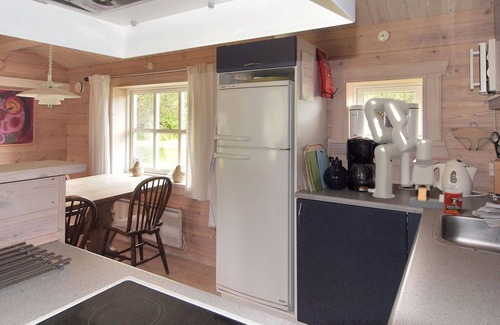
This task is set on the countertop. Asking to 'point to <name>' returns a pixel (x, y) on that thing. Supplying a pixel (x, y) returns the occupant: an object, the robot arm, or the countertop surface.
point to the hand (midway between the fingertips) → (422, 196)
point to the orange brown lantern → (422, 193)
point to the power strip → (427, 202)
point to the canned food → (453, 201)
